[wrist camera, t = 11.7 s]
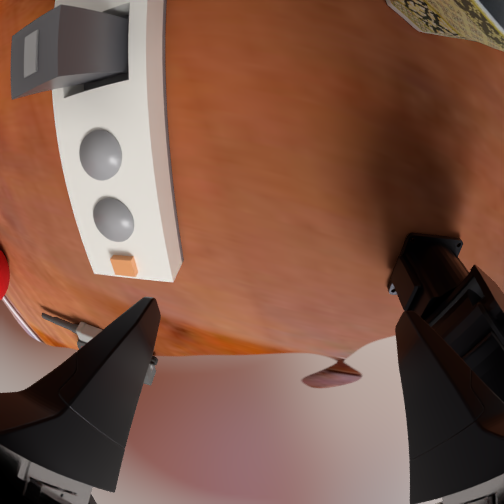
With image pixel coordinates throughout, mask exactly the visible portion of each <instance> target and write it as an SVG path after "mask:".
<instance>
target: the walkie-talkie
mask: <svg viewBox="0 0 504 504" xmlns="http://www.w3.org/2000/svg"><path fill="white" fill-rule="evenodd" d="M42 317H43V318H44V319H46V320H48V321H51V322H53V323H55V324H57V325H60V326H62V327H64V328H67V329H69V330H71V331H72V332H74V333H76V334H77V335H78V337H79V340H78V342H77V345H78V348H79V349H80V348H81V347H83V346H84V345H85V344H86V343H88V342H89V341H90V340H91V339H92V338H94V337H95V336H96V335H97V334H98V333H100V332H101V331H102V329H99V328H96V327H94V326H91V325H88V324H86V323H84V322H82V321H81V322H80V324H79V325H77V324H72V323H70V322H67V321H65V320H62V319H60V318H58V317H52V316H49V315H47V314H45V313H42ZM157 362H158V359H157V358H156V357H155V356H152V358H151V361H150V364H149V367H148V370H147V374H146V377H145V380H144V384H148V385H151V384H152V381H153V378H154V375H155V372H156V370H155V365H156V364H157Z"/></svg>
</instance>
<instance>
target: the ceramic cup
mask: <svg viewBox="0 0 504 504" xmlns="http://www.w3.org/2000/svg"><path fill="white" fill-rule="evenodd" d="M386 2H387V5H388V6H389V7H390V8H392V9H393V10H394V11H395V12H396V13H398V14H399V15H400V16H401V17H402V18H403V19H405V20H406V21H407V22H408V23H409V24H410V25H411V26H412V27H413V28H415V29H416V30H417V31H419V32H425V33H431V34H436V35H441V36H447V37H452V38H460V39H466V40H471V41H476V42H480V43H482V44H485V45H487V46H490V47H492V48H495V49H498V50H501V51H504V0H386Z"/></svg>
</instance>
